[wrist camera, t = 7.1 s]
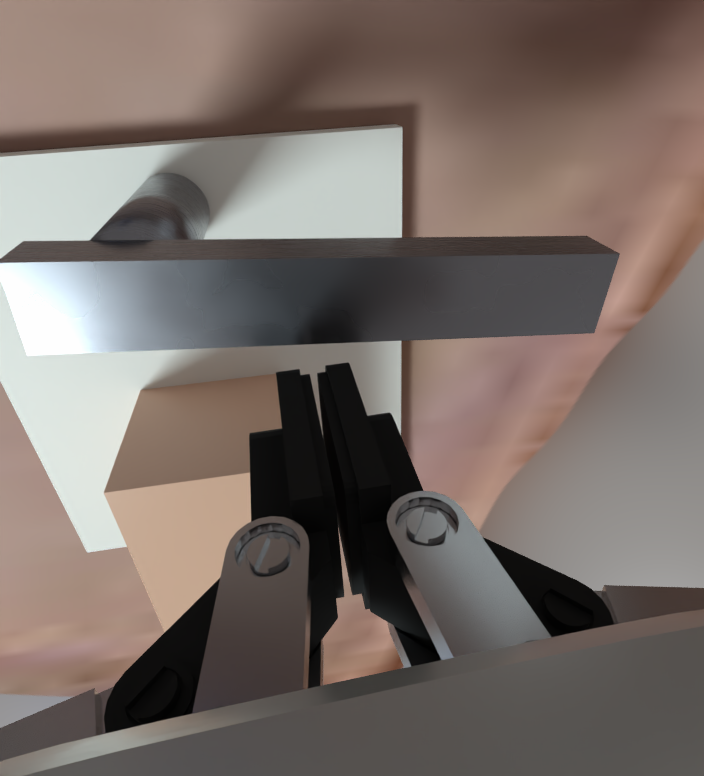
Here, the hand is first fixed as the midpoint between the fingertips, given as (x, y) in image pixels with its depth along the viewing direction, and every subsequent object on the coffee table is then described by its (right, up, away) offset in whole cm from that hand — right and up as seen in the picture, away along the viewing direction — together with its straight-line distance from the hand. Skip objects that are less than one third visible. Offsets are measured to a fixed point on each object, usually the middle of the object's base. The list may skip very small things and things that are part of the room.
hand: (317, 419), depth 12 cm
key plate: (-5, +2, +10) cm, 12 cm away
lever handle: (-1, +7, +6) cm, 9 cm away
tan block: (-5, -2, +12) cm, 13 cm away
